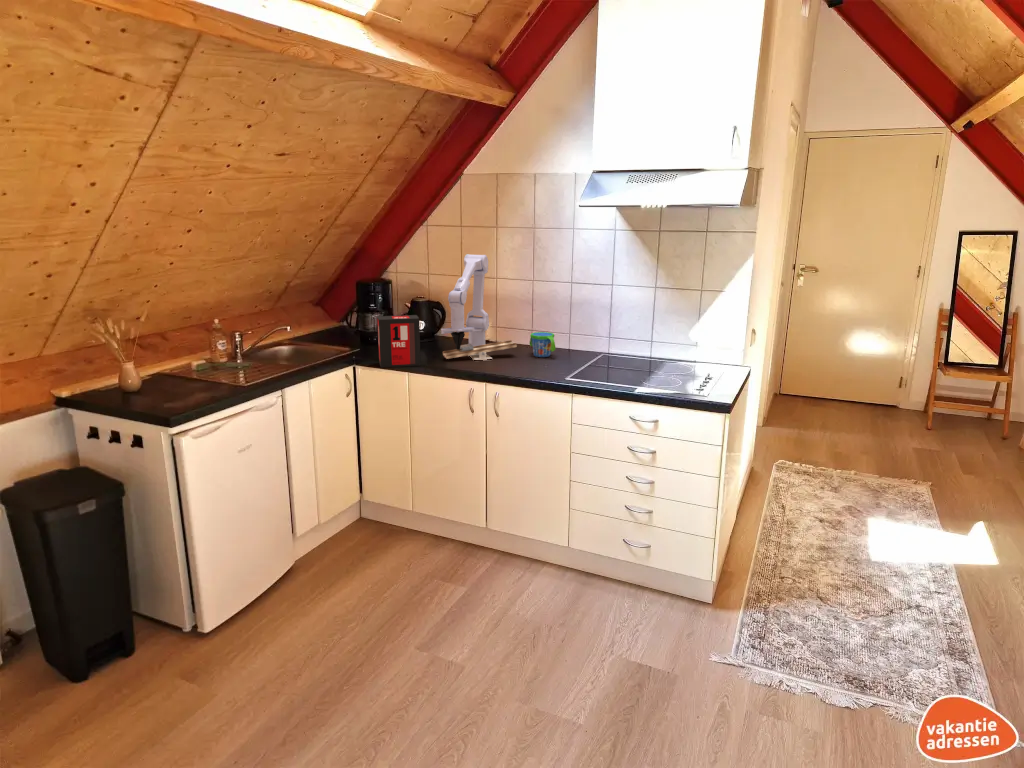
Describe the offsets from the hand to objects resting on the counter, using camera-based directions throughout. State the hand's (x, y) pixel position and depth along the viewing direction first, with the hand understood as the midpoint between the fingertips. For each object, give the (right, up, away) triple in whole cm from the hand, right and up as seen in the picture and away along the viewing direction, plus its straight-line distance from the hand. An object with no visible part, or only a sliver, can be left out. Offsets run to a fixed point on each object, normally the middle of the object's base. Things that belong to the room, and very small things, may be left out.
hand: (457, 349), depth 291 cm
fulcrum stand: (+9, -4, +4) cm, 11 cm away
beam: (+10, -1, +3) cm, 10 cm away
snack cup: (+37, -3, +9) cm, 39 cm away
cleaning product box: (-24, -7, -9) cm, 27 cm away
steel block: (+4, -1, +1) cm, 4 cm away
